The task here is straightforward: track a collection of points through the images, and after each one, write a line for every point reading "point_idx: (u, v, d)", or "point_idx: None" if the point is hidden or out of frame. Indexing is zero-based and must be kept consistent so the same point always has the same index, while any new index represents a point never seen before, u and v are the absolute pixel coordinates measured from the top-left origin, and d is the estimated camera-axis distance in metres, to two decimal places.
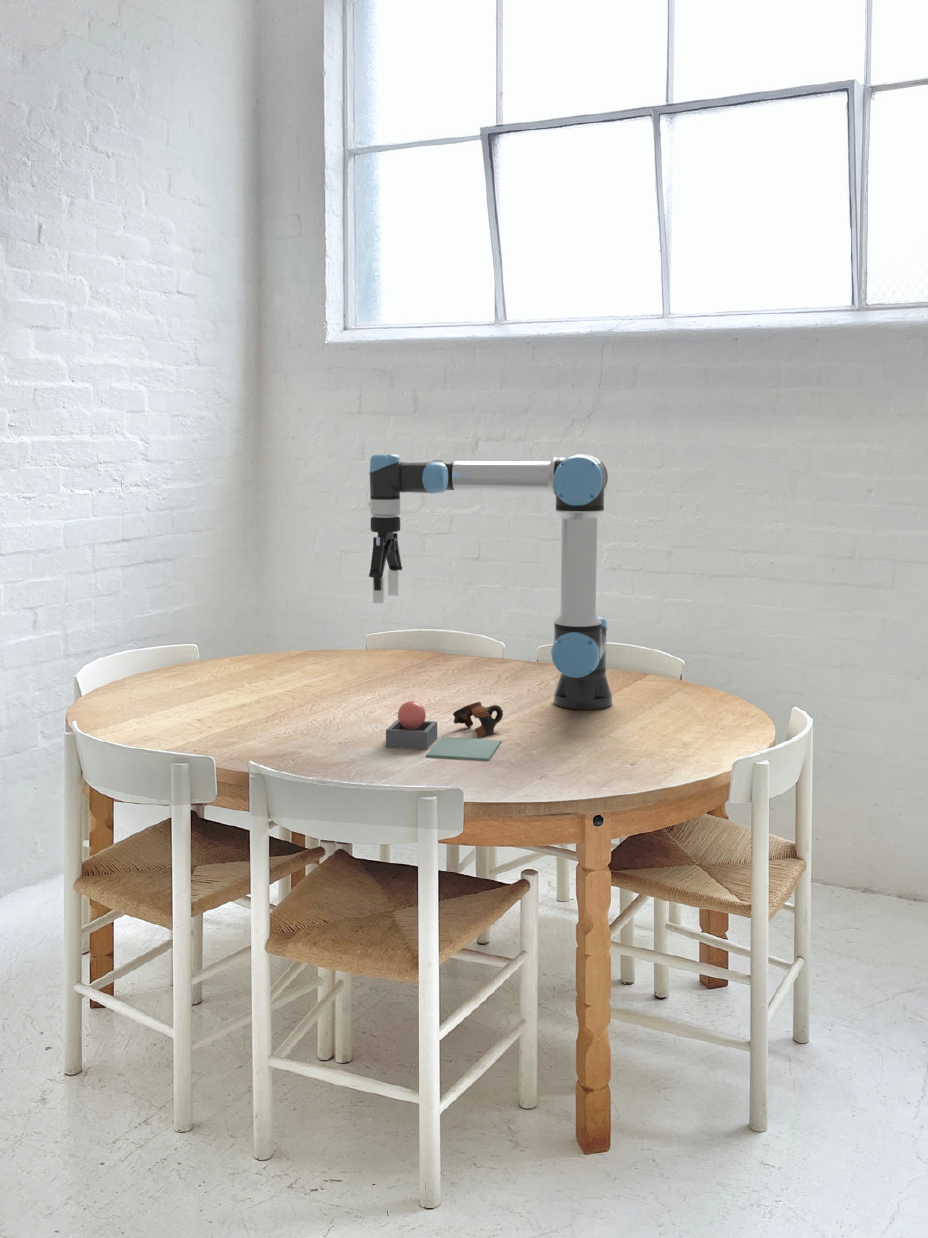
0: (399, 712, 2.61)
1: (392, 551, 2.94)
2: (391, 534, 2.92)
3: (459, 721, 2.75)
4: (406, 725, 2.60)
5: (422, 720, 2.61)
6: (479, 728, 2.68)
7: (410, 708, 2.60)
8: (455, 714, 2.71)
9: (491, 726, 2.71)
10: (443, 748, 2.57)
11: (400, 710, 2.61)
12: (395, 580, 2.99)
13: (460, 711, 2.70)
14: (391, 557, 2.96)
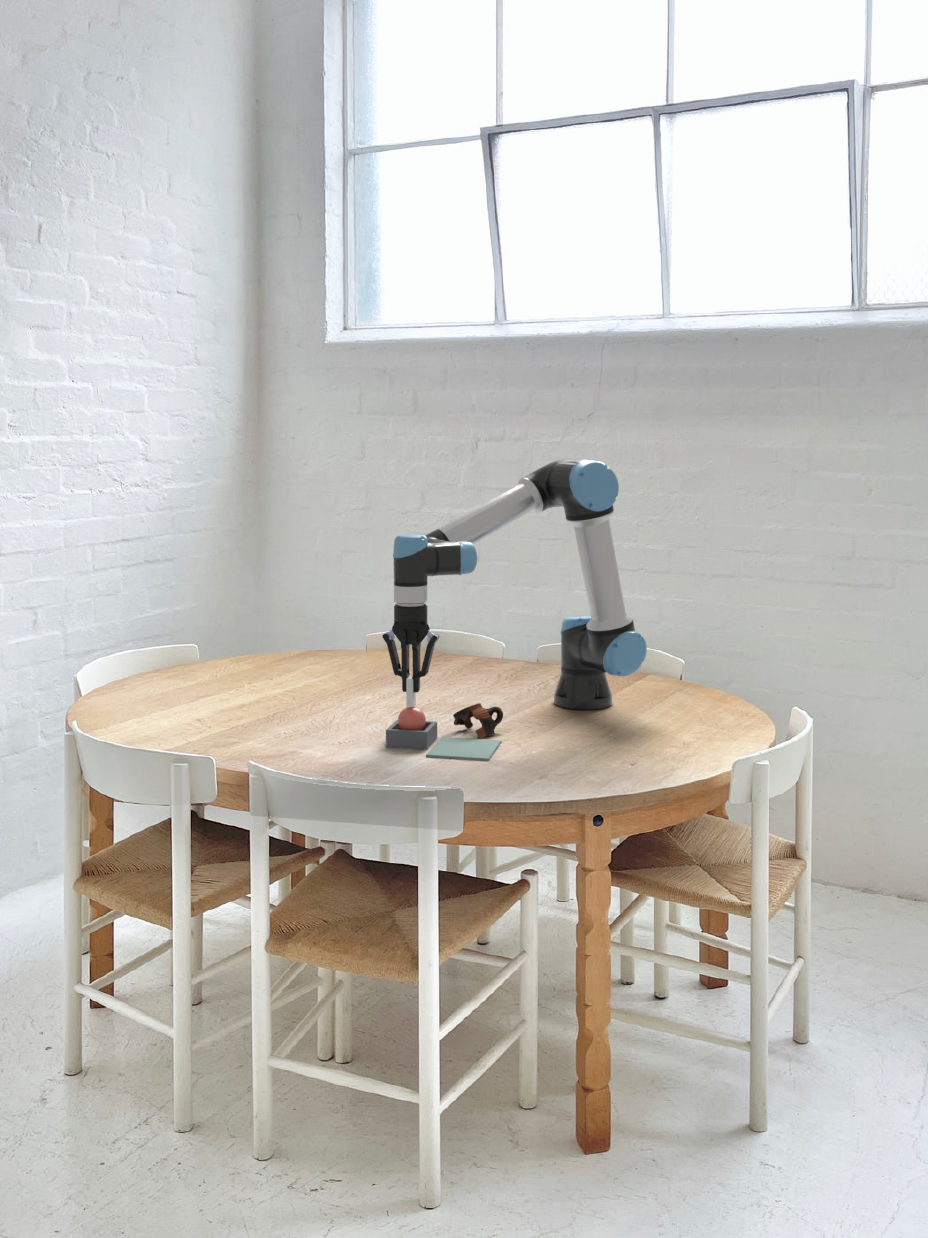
0: (399, 717, 2.61)
1: None
2: (420, 622, 2.57)
3: (459, 723, 2.74)
4: None
5: (422, 725, 2.61)
6: (480, 730, 2.67)
7: (410, 713, 2.60)
8: (455, 715, 2.70)
9: (492, 728, 2.69)
10: (443, 748, 2.57)
11: (400, 715, 2.61)
12: None
13: (460, 712, 2.69)
14: None
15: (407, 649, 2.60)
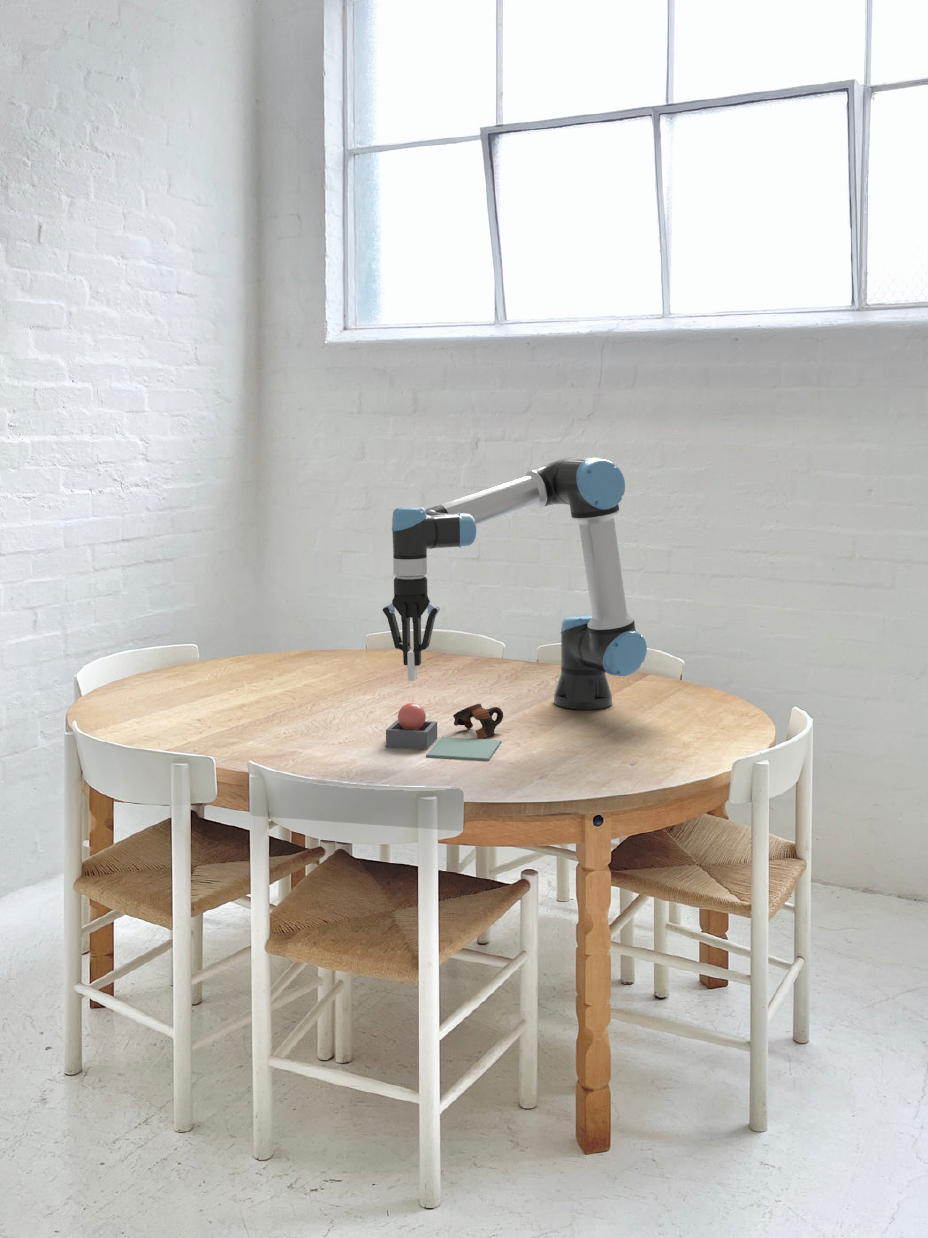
0: (399, 714, 2.61)
1: None
2: (420, 595, 2.56)
3: (459, 723, 2.74)
4: (406, 727, 2.61)
5: (422, 722, 2.61)
6: (480, 730, 2.67)
7: (410, 709, 2.60)
8: (455, 716, 2.70)
9: (492, 728, 2.69)
10: (443, 748, 2.57)
11: (400, 712, 2.61)
12: None
13: (461, 713, 2.68)
14: None
15: (408, 622, 2.59)
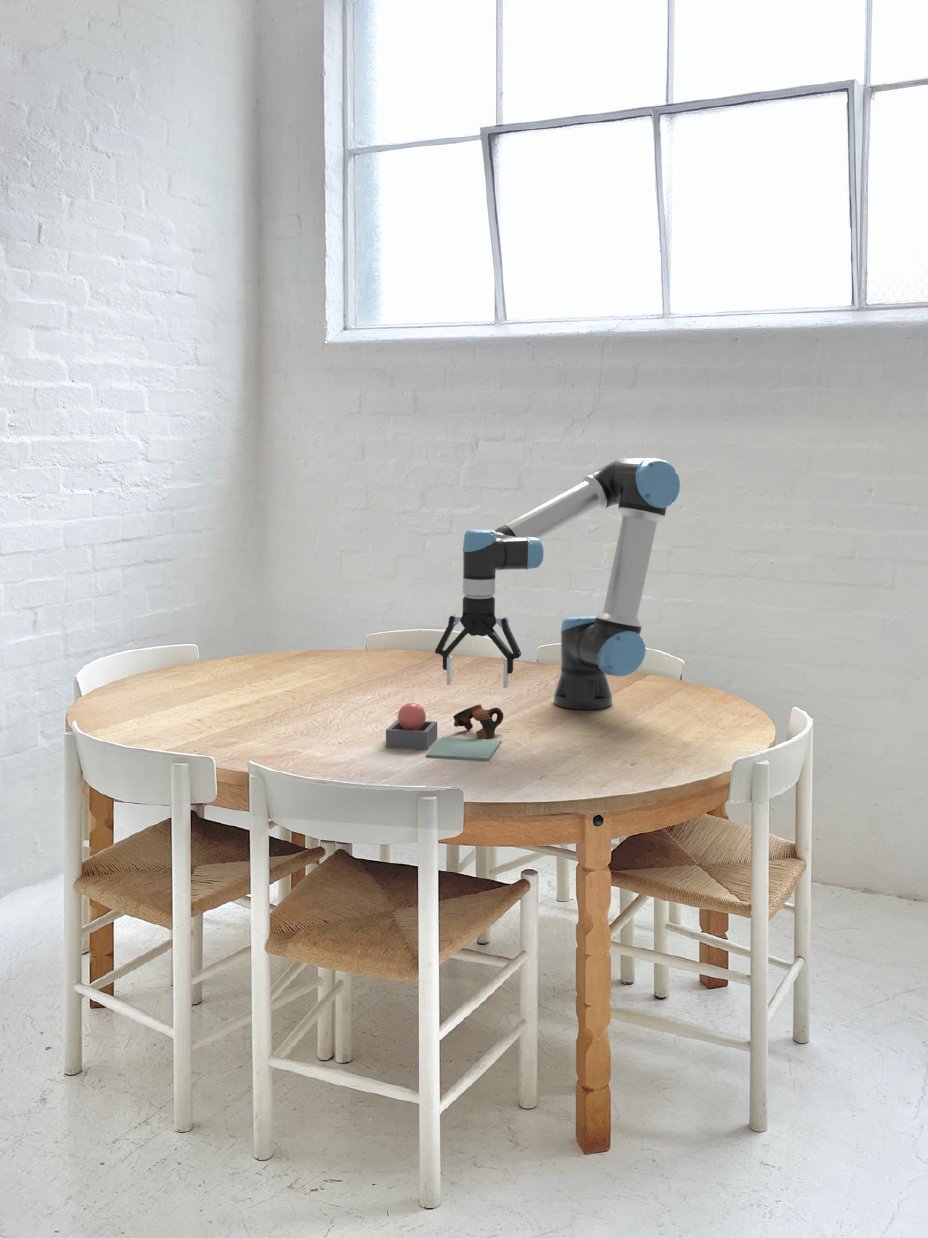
0: (399, 714, 2.61)
1: None
2: (484, 617, 2.67)
3: (459, 724, 2.73)
4: (406, 727, 2.61)
5: (422, 722, 2.61)
6: (480, 731, 2.66)
7: (410, 709, 2.60)
8: (455, 717, 2.69)
9: (492, 729, 2.68)
10: (443, 748, 2.57)
11: (400, 712, 2.61)
12: (504, 670, 2.69)
13: (461, 714, 2.68)
14: None
15: (463, 637, 2.70)
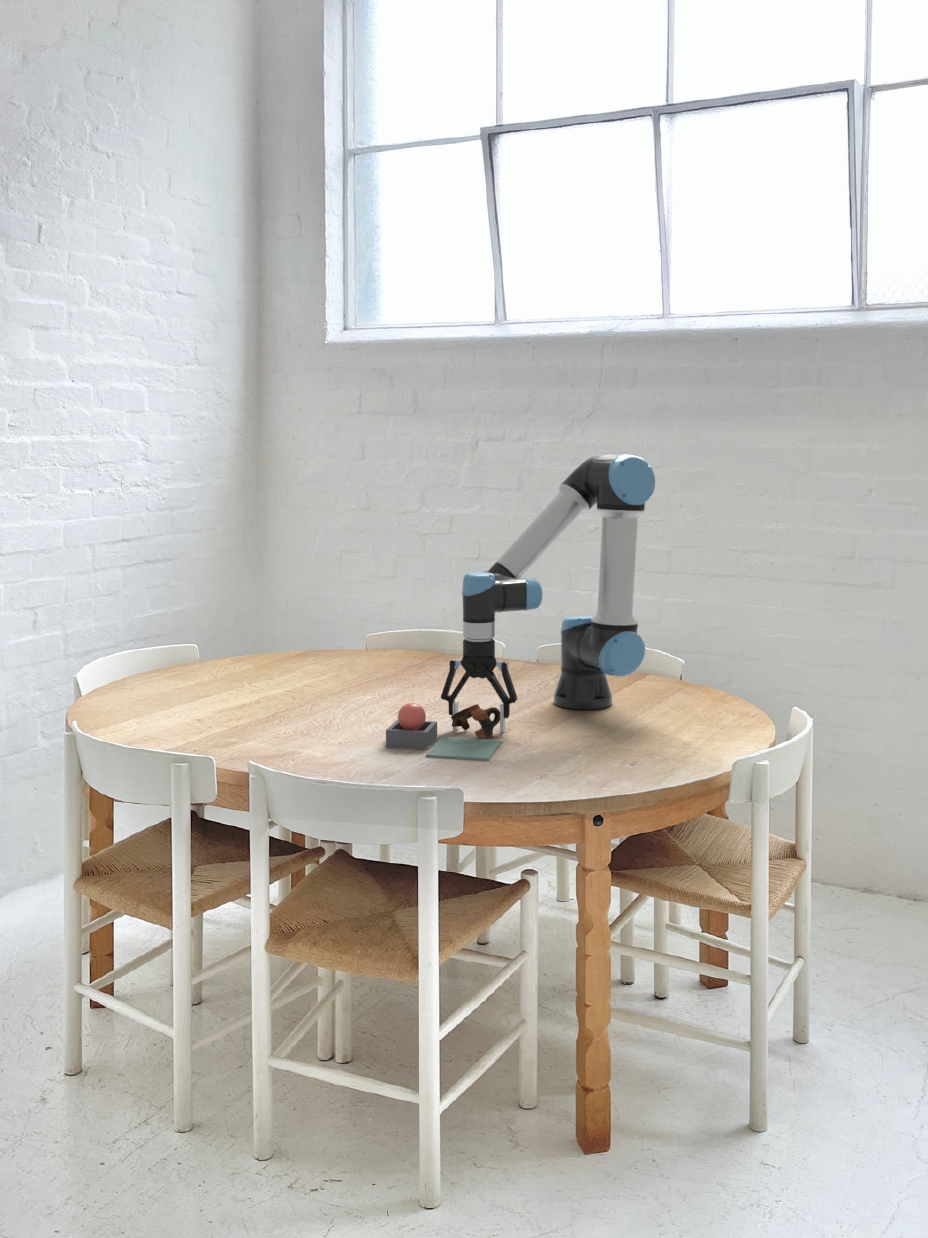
0: (399, 714, 2.61)
1: None
2: (485, 659, 2.69)
3: (456, 724, 2.72)
4: (406, 727, 2.61)
5: (422, 722, 2.61)
6: (479, 731, 2.65)
7: (410, 709, 2.60)
8: (454, 717, 2.68)
9: (491, 729, 2.68)
10: (443, 748, 2.57)
11: (400, 712, 2.61)
12: None
13: (459, 714, 2.67)
14: None
15: (466, 680, 2.71)
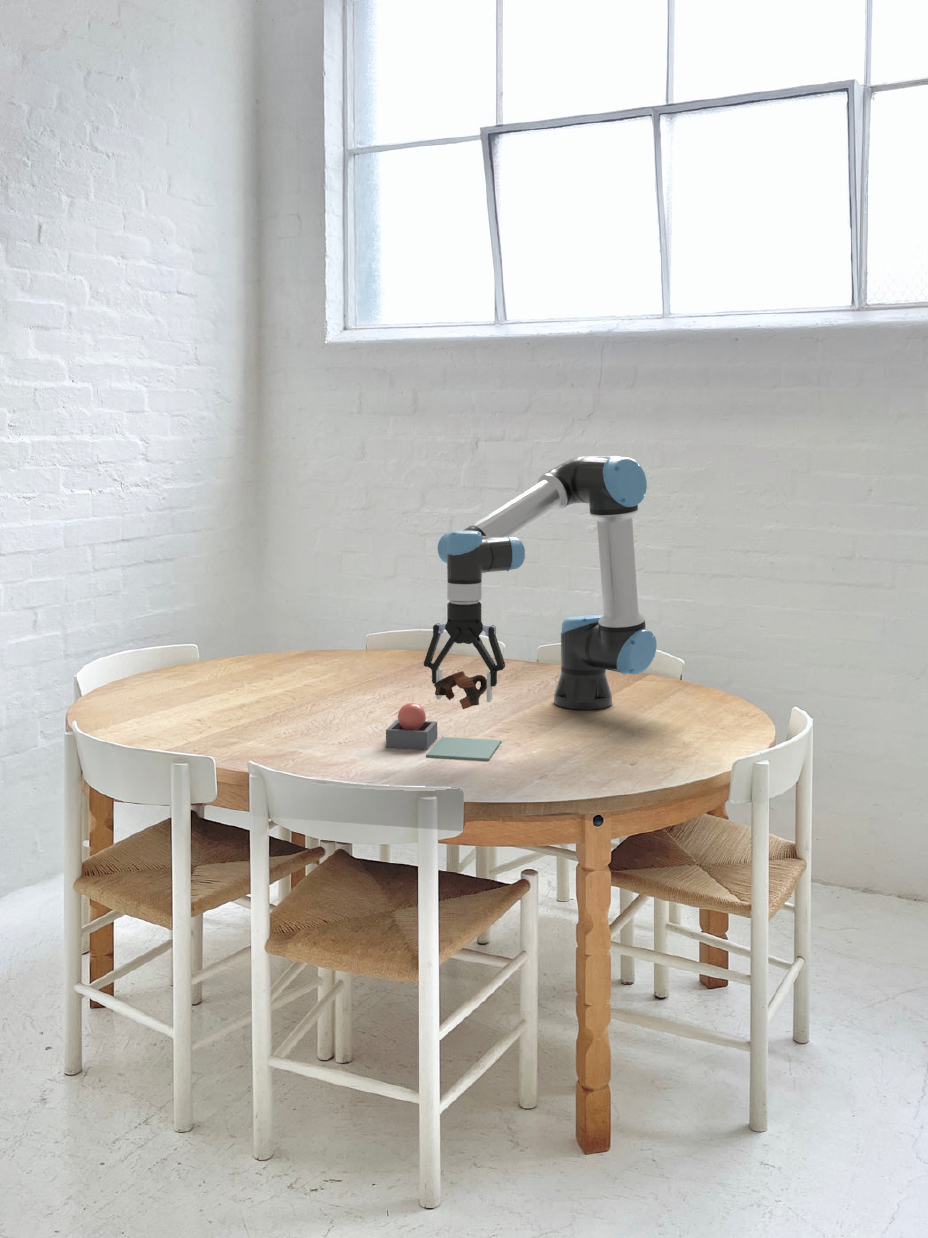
0: (399, 714, 2.61)
1: None
2: (471, 623, 2.52)
3: (440, 693, 2.54)
4: (406, 727, 2.61)
5: (422, 722, 2.61)
6: (464, 699, 2.48)
7: (410, 709, 2.60)
8: (437, 685, 2.50)
9: (476, 697, 2.50)
10: (443, 748, 2.57)
11: (400, 712, 2.61)
12: None
13: (443, 681, 2.49)
14: None
15: (451, 646, 2.54)
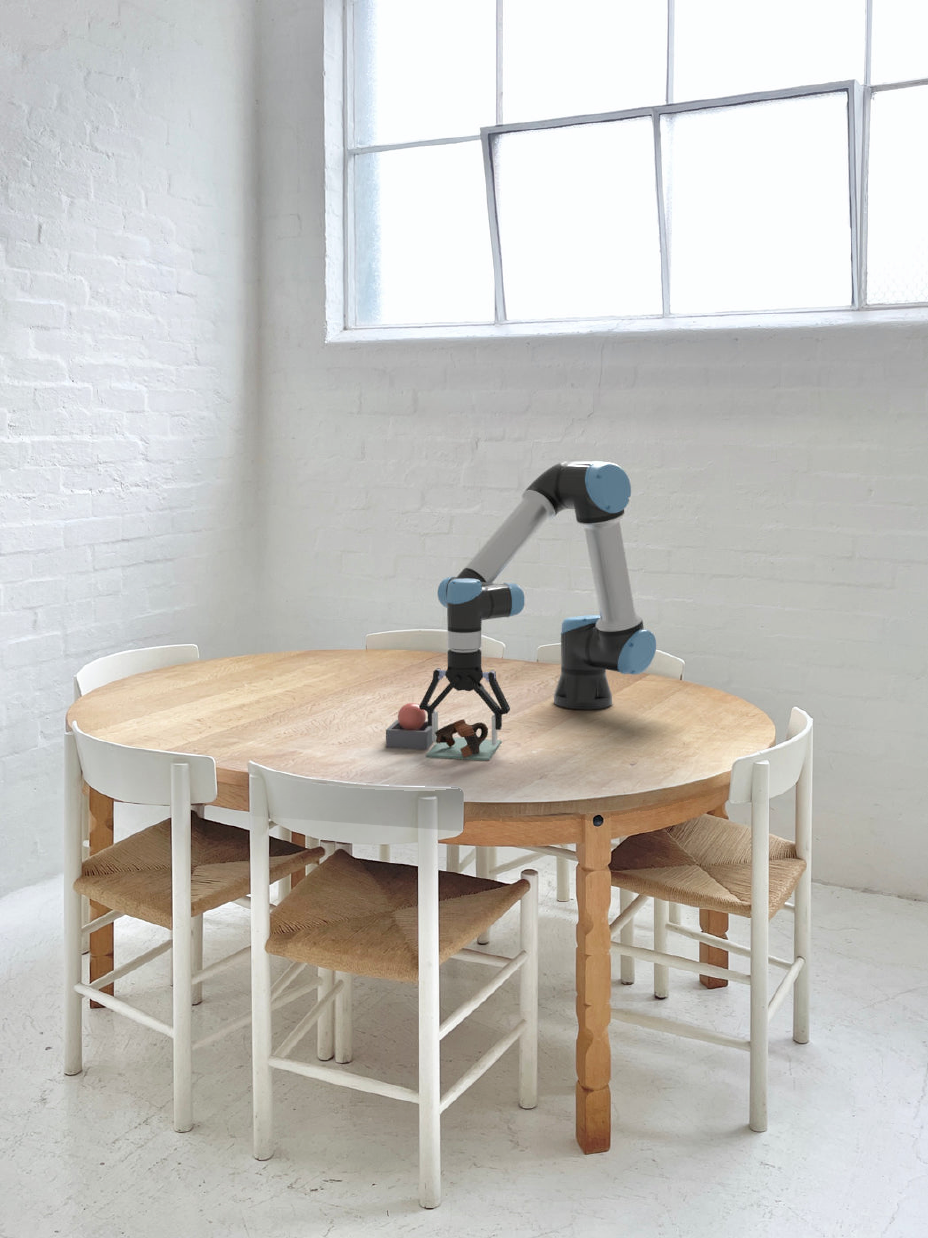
0: (399, 714, 2.61)
1: None
2: (470, 671, 2.54)
3: (441, 740, 2.56)
4: (406, 727, 2.61)
5: (422, 722, 2.61)
6: (465, 748, 2.50)
7: (410, 709, 2.60)
8: (438, 733, 2.52)
9: (477, 745, 2.52)
10: (443, 748, 2.57)
11: (400, 712, 2.61)
12: (492, 727, 2.55)
13: (444, 730, 2.51)
14: None
15: None
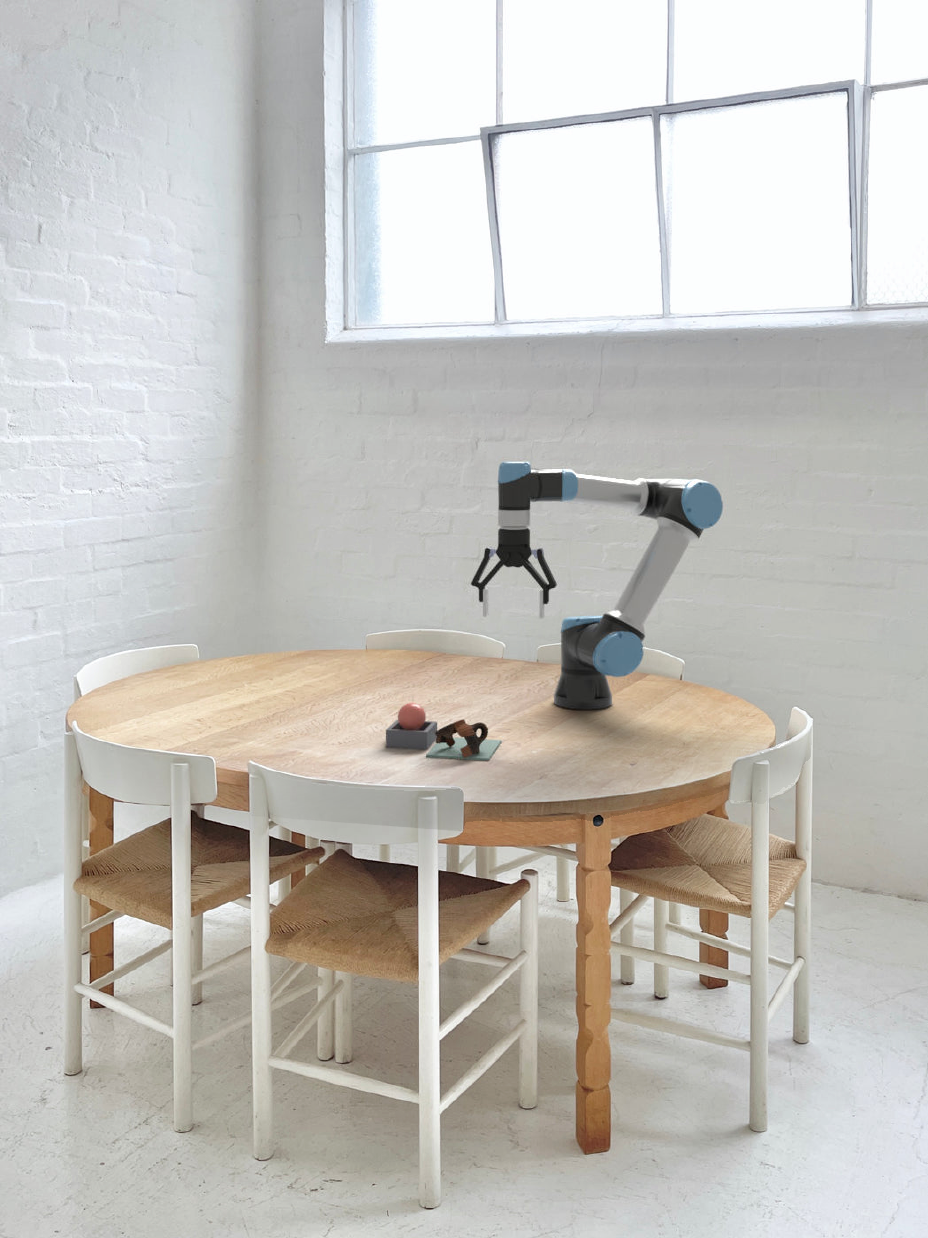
0: (399, 714, 2.61)
1: None
2: (519, 548, 2.70)
3: (441, 740, 2.56)
4: (406, 727, 2.61)
5: (422, 722, 2.61)
6: (465, 748, 2.50)
7: (410, 709, 2.60)
8: (438, 733, 2.52)
9: (477, 745, 2.52)
10: (443, 748, 2.57)
11: (400, 712, 2.61)
12: (540, 601, 2.72)
13: (444, 730, 2.51)
14: None
15: (499, 569, 2.73)
